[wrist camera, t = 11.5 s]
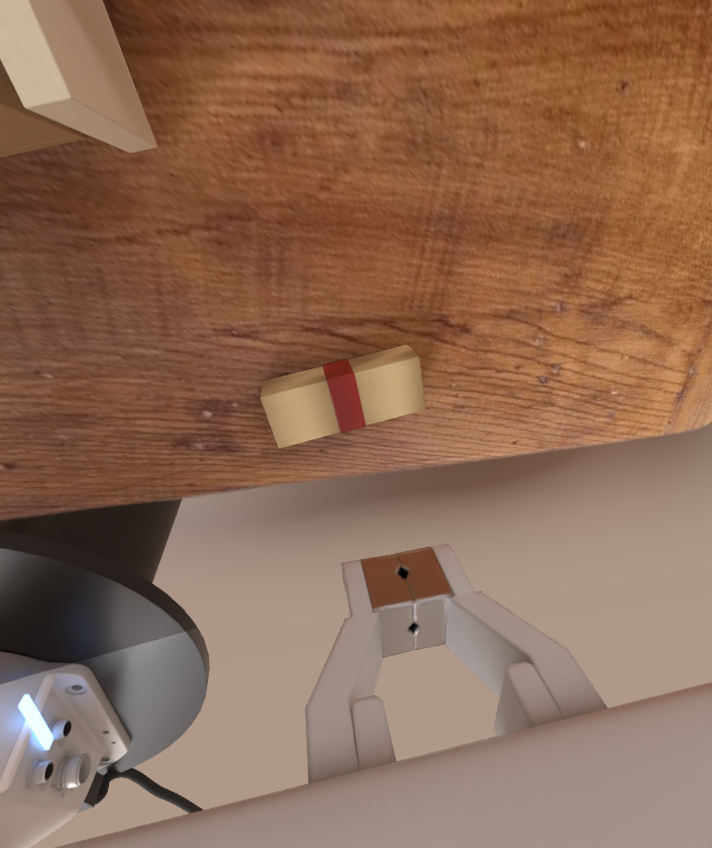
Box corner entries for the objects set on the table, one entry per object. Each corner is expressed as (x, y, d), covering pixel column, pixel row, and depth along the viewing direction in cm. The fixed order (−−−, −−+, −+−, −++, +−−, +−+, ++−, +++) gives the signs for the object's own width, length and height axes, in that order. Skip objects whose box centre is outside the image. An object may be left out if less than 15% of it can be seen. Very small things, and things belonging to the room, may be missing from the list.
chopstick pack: (406, 343, 23) (419, 355, 21) (414, 394, 25) (426, 411, 23) (261, 380, 23) (259, 397, 21) (279, 429, 25) (278, 450, 23)
